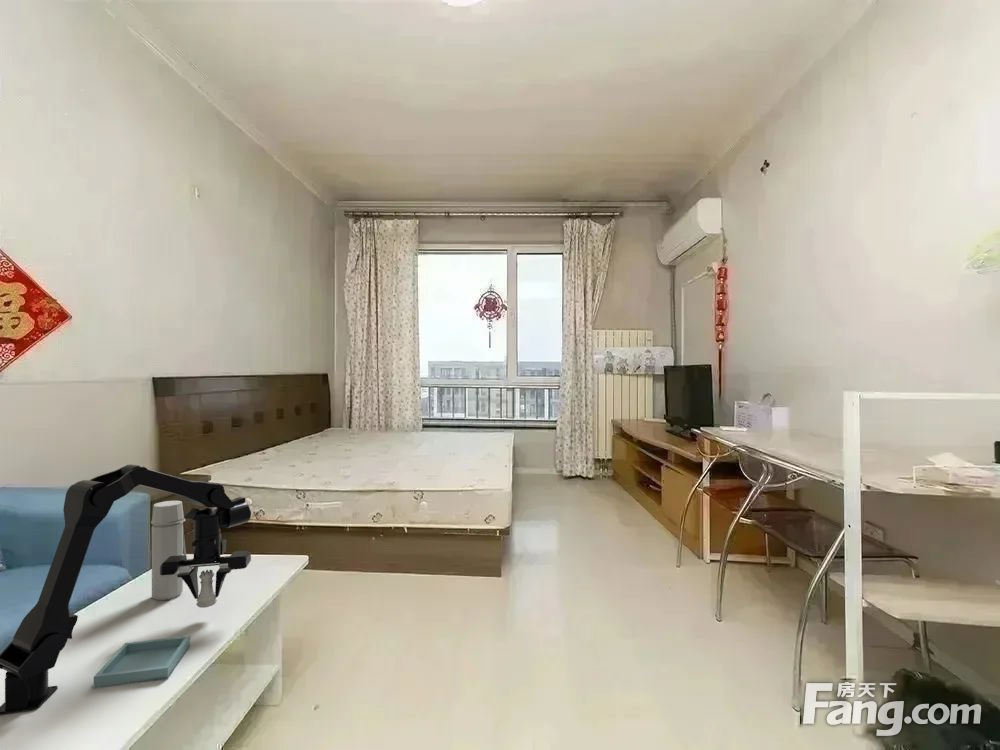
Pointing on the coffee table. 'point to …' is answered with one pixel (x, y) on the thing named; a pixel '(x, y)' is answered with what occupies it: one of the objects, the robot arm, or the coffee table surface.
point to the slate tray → (142, 662)
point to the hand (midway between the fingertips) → (207, 597)
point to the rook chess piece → (206, 590)
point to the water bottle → (167, 547)
